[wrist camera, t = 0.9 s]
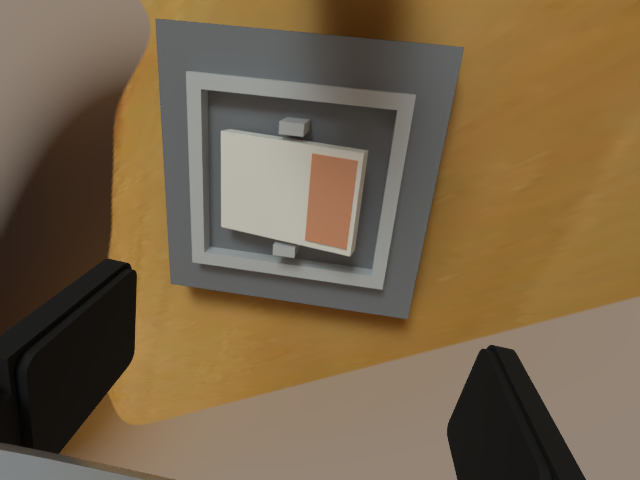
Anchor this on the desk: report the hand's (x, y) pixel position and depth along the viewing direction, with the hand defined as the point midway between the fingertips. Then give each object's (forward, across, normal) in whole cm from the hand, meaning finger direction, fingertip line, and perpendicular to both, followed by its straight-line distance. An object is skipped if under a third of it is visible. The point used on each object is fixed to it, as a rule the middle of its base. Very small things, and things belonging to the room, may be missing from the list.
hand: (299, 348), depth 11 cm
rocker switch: (+18, +3, +1) cm, 19 cm away
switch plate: (+23, +3, +1) cm, 24 cm away
